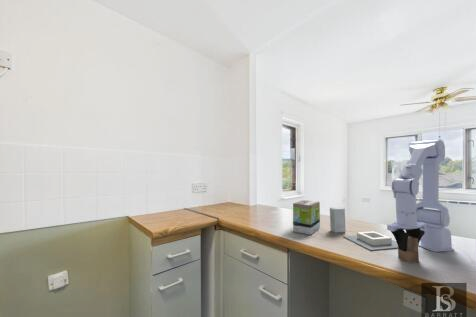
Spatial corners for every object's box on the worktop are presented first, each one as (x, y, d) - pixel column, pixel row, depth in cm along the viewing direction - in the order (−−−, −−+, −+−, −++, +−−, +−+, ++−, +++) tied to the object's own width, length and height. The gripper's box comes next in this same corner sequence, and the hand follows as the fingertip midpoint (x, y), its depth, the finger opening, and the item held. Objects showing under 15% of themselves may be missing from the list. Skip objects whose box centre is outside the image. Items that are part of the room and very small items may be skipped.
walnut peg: (407, 256, 74) (406, 234, 74) (418, 261, 70) (417, 238, 71) (398, 257, 73) (397, 235, 74) (409, 262, 70) (408, 239, 70)
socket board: (376, 234, 98) (375, 228, 98) (409, 247, 83) (408, 240, 83) (343, 237, 95) (343, 230, 95) (370, 250, 80) (370, 243, 80)
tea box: (312, 235, 98) (311, 205, 99) (292, 231, 104) (291, 203, 105) (320, 227, 110) (319, 200, 111) (302, 224, 116) (301, 199, 117)
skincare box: (340, 229, 106) (340, 206, 107) (346, 232, 102) (345, 208, 102) (329, 230, 106) (329, 207, 106) (334, 233, 101) (334, 208, 102)
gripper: (411, 208, 78) (413, 244, 77) (379, 210, 75) (380, 247, 75) (432, 212, 71) (434, 251, 70) (397, 214, 68) (398, 255, 68)
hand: (407, 249), depth 72 cm, fingers closed on walnut peg, 4 cm apart
